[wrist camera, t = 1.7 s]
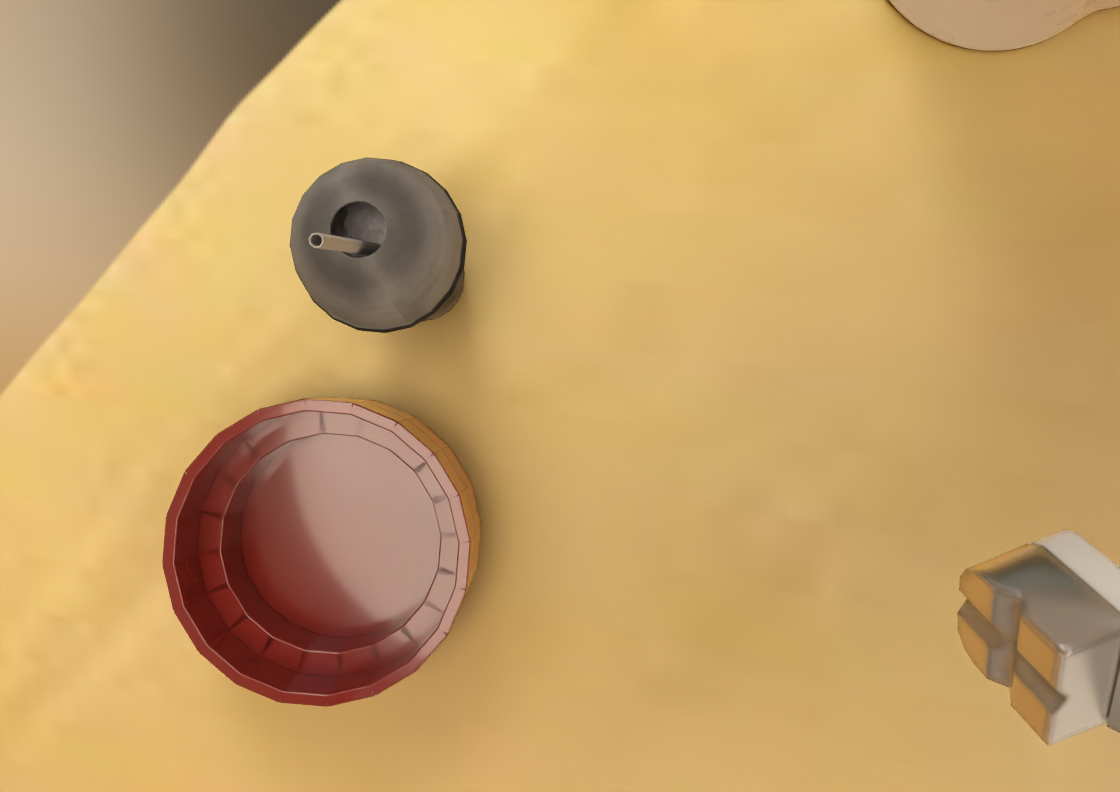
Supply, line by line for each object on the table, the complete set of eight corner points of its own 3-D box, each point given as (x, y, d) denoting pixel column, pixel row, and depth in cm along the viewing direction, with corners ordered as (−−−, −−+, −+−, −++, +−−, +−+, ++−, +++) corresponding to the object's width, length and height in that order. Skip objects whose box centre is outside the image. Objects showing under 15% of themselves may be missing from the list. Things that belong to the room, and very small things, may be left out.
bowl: (274, 356, 49) (233, 352, 43) (522, 461, 49) (516, 471, 43) (171, 603, 49) (116, 634, 43) (418, 708, 49) (398, 753, 43)
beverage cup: (504, 231, 49) (462, 122, 28) (470, 360, 49) (405, 341, 29) (375, 198, 49) (243, 66, 29) (342, 326, 49) (188, 285, 29)
